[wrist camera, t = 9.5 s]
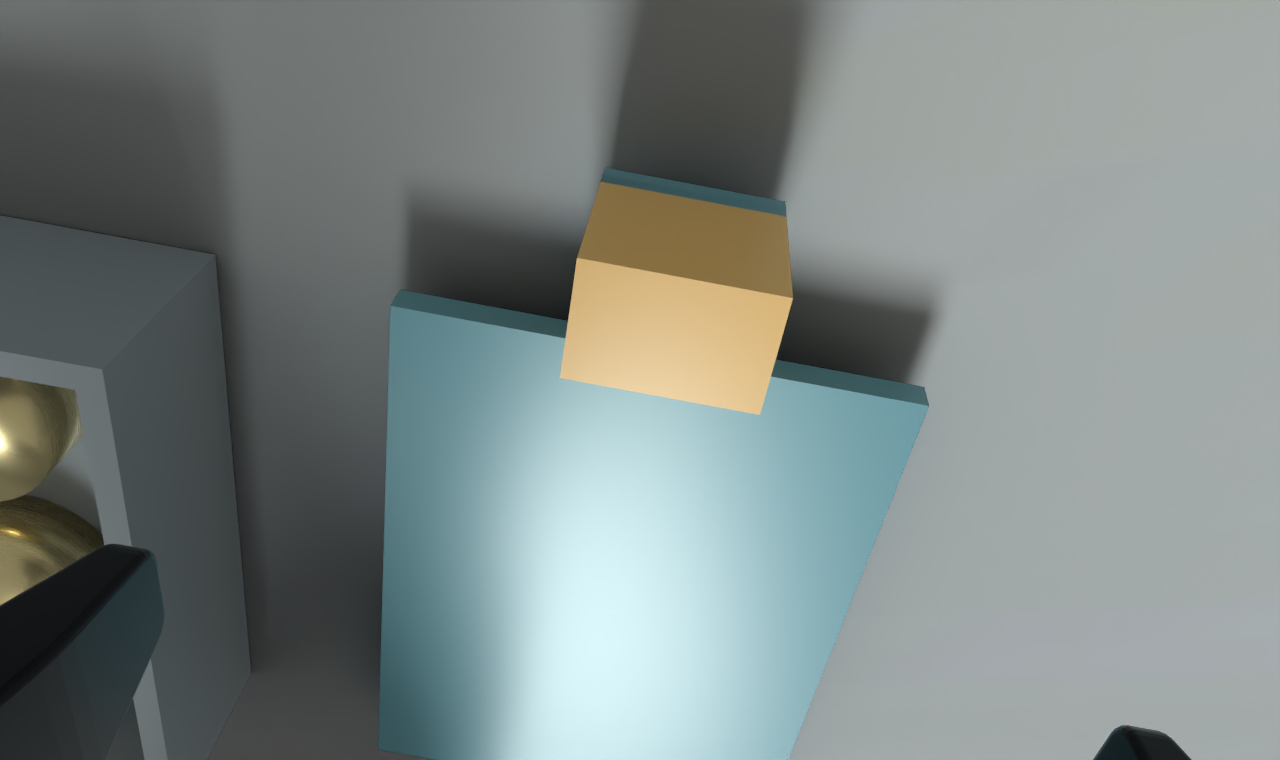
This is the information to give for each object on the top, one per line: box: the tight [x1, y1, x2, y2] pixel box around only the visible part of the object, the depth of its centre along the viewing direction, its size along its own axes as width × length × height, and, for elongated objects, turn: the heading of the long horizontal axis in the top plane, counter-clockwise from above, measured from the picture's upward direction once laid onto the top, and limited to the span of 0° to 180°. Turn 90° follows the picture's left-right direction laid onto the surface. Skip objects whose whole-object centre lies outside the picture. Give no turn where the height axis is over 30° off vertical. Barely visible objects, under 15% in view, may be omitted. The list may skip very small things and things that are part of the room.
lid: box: [378, 168, 929, 760], centre depth 20 cm, size 16×10×4 cm, turn 171°
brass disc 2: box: [0, 495, 104, 605], centre depth 23 cm, size 4×4×2 cm
